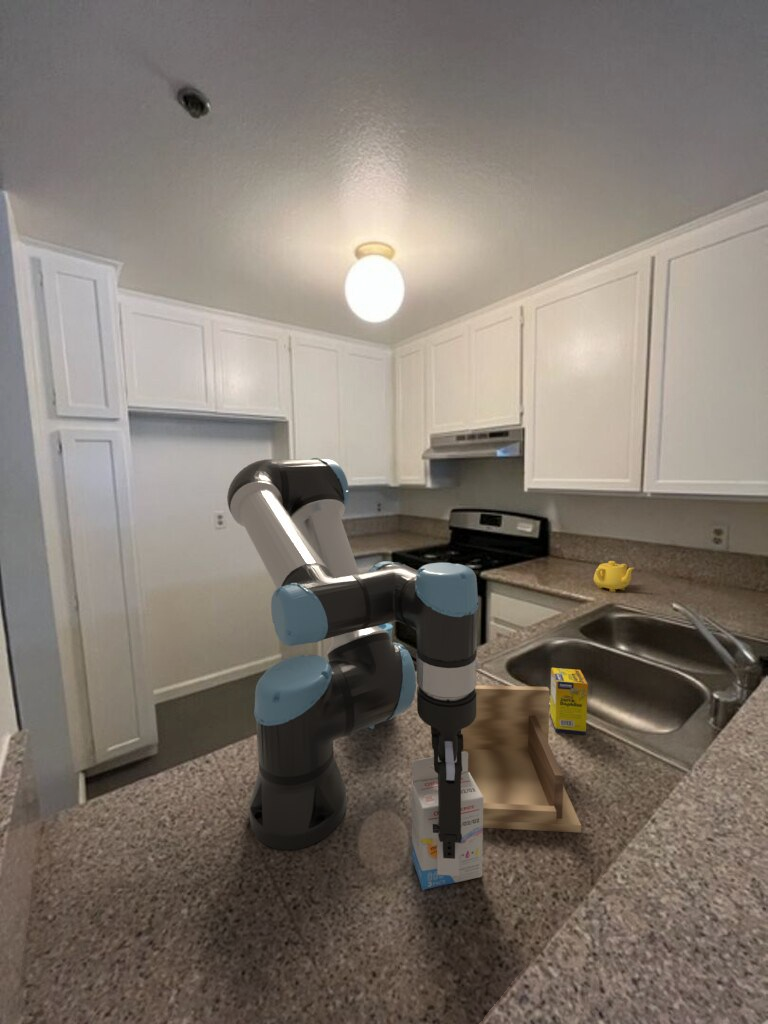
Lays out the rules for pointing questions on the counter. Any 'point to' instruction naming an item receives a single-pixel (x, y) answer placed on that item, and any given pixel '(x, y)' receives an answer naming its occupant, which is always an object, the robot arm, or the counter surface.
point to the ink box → (428, 815)
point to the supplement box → (568, 701)
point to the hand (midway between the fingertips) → (446, 847)
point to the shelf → (517, 761)
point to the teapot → (612, 576)
